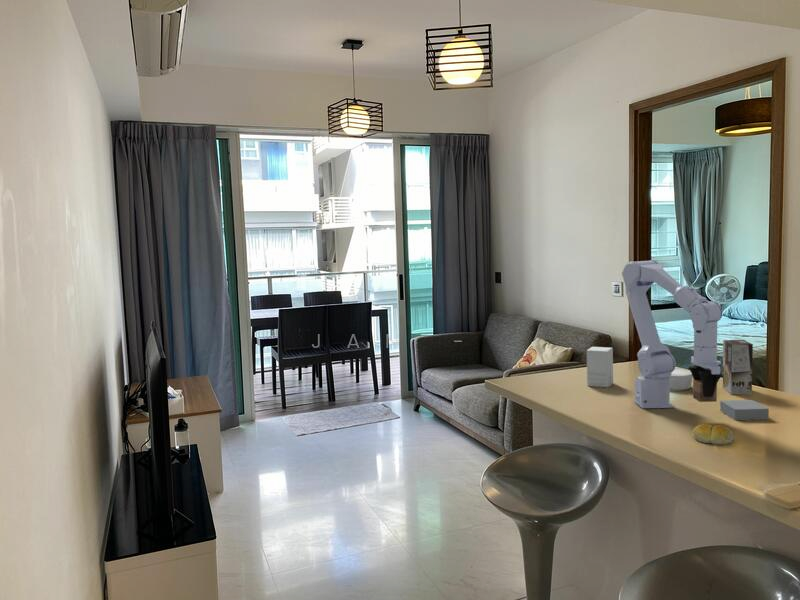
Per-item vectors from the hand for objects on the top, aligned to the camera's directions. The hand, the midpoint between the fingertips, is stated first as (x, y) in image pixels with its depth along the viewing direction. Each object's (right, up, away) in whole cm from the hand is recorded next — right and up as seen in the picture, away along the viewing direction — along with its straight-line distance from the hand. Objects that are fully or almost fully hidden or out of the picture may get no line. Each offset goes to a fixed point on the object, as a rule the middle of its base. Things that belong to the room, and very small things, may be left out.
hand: (704, 394), depth 176 cm
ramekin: (+7, -3, +36) cm, 37 cm away
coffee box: (+24, -3, +28) cm, 37 cm away
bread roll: (-5, -10, -16) cm, 19 cm away
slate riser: (+12, -6, +3) cm, 14 cm away
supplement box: (-15, -3, +44) cm, 46 cm away
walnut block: (0, -2, 0) cm, 2 cm away
